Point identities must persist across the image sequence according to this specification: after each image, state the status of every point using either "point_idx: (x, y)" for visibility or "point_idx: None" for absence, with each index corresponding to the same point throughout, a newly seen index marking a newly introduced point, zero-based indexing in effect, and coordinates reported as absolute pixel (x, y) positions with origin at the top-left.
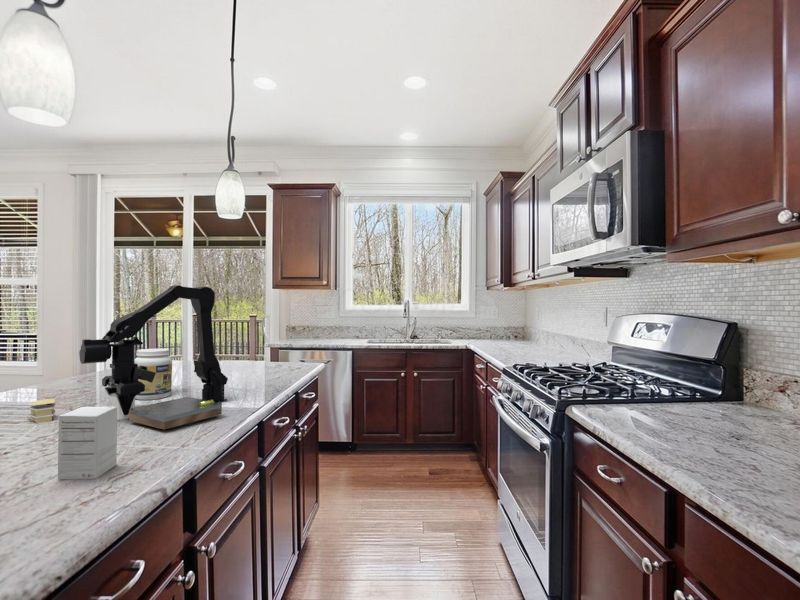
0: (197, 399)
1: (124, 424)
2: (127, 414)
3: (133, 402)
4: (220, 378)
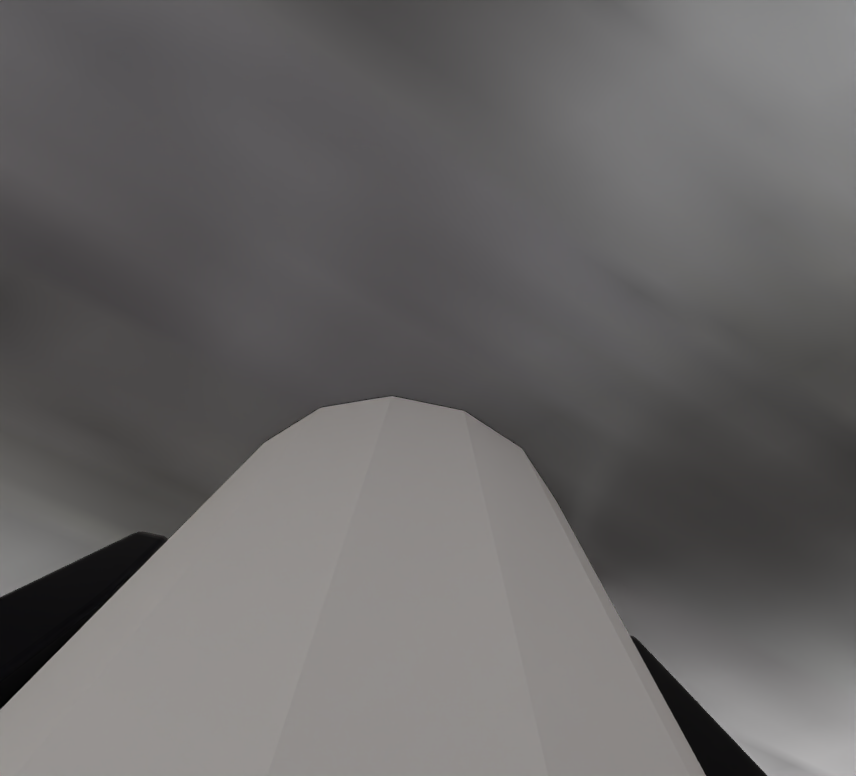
0: None
1: (823, 728)
2: None
3: (693, 756)
4: None
